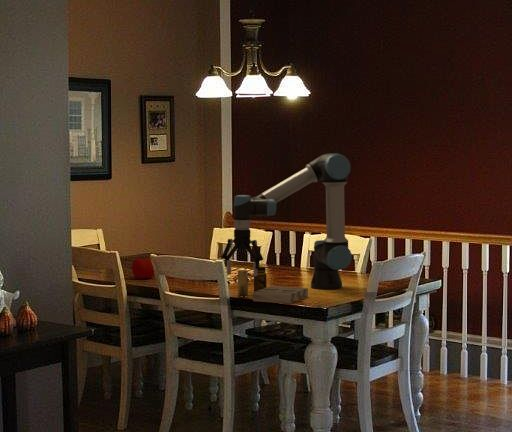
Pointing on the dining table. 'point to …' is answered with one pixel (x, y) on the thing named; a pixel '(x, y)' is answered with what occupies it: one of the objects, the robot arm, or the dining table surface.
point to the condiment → (260, 279)
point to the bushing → (243, 283)
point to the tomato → (142, 268)
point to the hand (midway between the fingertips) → (242, 275)
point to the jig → (280, 294)
